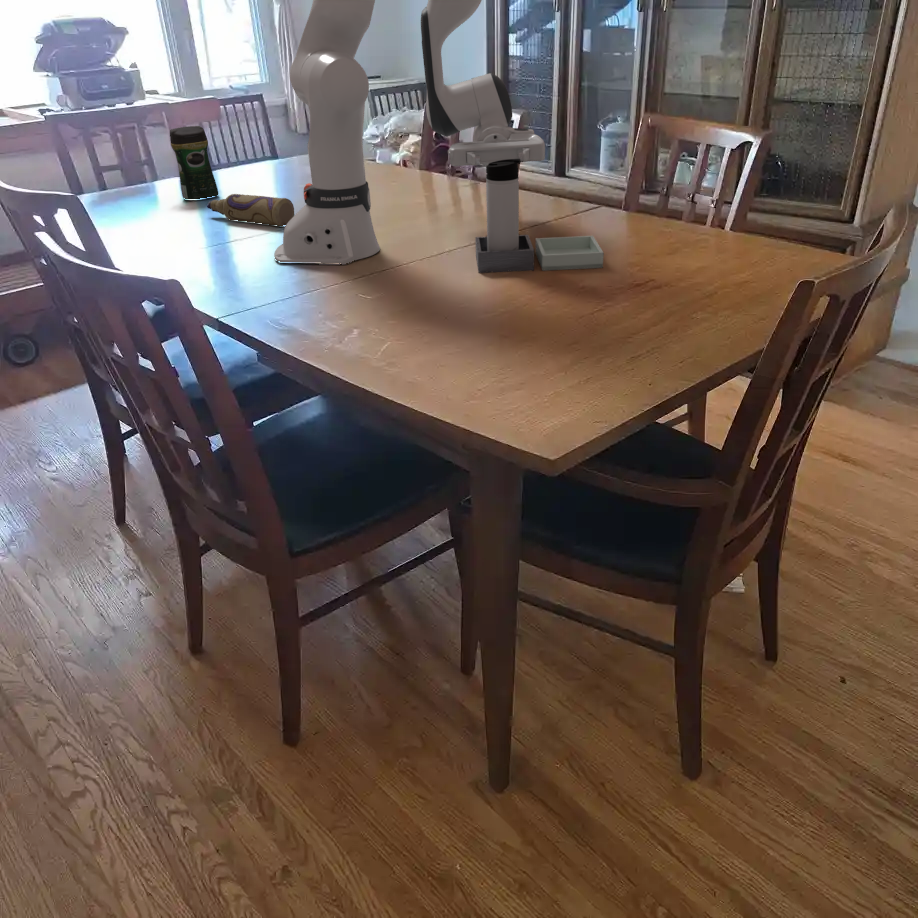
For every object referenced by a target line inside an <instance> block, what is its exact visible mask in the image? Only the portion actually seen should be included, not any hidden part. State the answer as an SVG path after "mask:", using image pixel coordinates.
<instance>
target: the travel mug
mask: <svg viewBox="0 0 918 918" xmlns="http://www.w3.org/2000/svg"><path fill="white" fill-rule="evenodd" d="M521 163H522V162H520V159H506V160H500V161H495V162H491V163H489V164H488V165H487V166H486V167H485V173H486V175H485V177H486V178H485V180H486V182H485V189H486V190H485V191H486V192H485V193H486V194H485V195H486V196H485V197H486V200H485V202H486V235H487V236H486V237H487V250H488V251H504V250H519V235H520V234H519V233H520V227H519V224H520V223H519V221H520V220H519V217H520V211H519V207H520V206H519V203H520V202H519V201H520V199H519V197H520V195H519V193H520V192H519V190H520V188H519V186H520V181H519V179H520V177H519V165H520V164H521Z"/></svg>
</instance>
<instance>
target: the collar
mask: <svg viewBox="0 0 918 918" xmlns="http://www.w3.org/2000/svg"><path fill="white" fill-rule="evenodd" d="M474 238H475V239H474V240H475V241H474V243H475V258H476V265H477V271H478V274H483V273H484V274H485V273H486V274H487V273H503V272H505V273H506V272H507V273H508V272H525V271H526V272H527V271H528V272H529V271H535V248H534V247H533V243H532V241H531V238H530V236H529V234H519V250H504V251H488V250H487V236H476V237H474Z"/></svg>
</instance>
